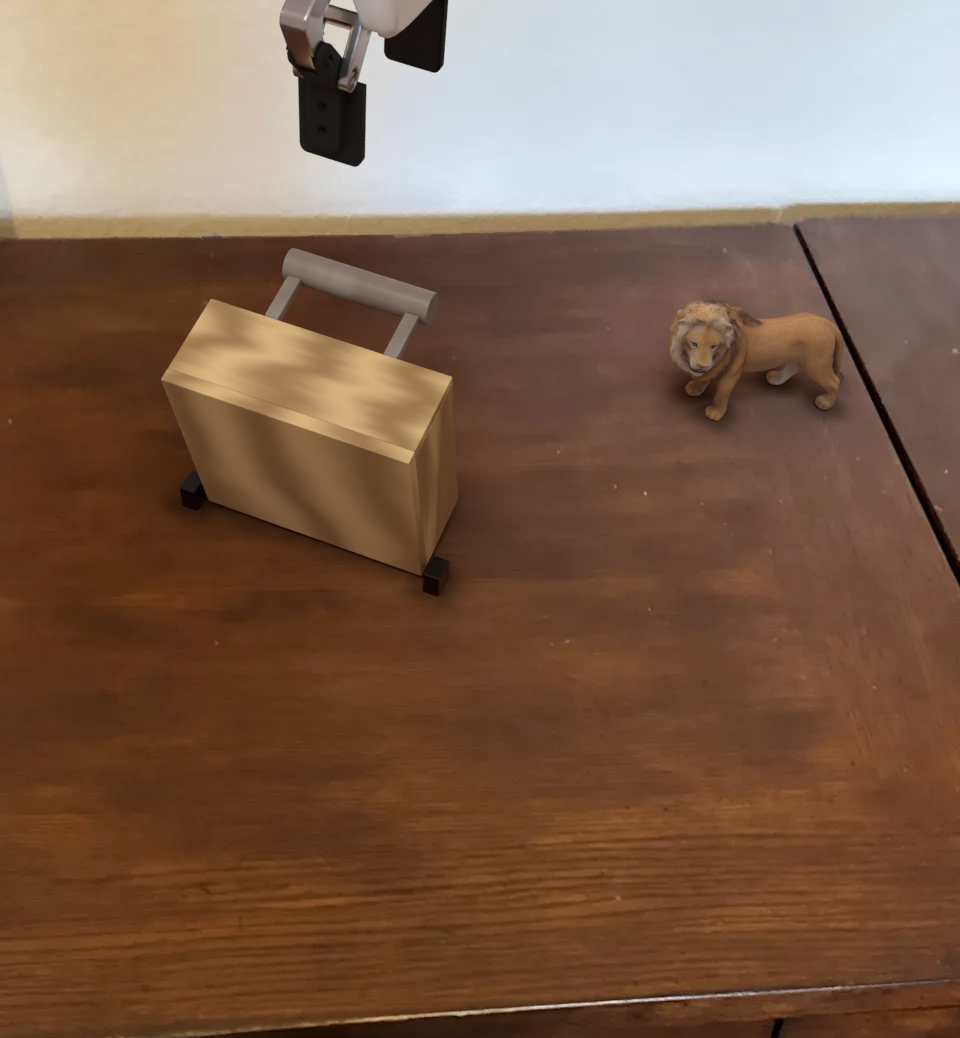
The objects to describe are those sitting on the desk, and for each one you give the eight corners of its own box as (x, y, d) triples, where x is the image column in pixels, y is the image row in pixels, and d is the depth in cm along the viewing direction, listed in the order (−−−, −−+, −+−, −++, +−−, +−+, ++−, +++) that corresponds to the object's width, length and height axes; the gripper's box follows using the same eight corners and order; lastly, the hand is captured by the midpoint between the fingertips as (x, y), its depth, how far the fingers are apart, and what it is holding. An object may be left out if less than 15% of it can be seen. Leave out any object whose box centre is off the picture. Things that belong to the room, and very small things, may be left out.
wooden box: (157, 372, 65) (248, 226, 69) (208, 500, 77) (283, 369, 81) (408, 457, 63) (486, 301, 67) (421, 576, 74) (487, 437, 79)
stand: (182, 505, 77) (179, 487, 76) (195, 488, 78) (192, 470, 76) (437, 596, 74) (439, 579, 73) (448, 578, 75) (449, 560, 74)
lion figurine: (669, 446, 83) (697, 338, 76) (636, 393, 86) (660, 285, 79) (858, 405, 87) (903, 299, 80) (821, 356, 90) (860, 250, 83)
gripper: (382, -203, 44) (371, 221, 57) (548, -336, 54) (505, 51, 68) (190, -254, 45) (224, 173, 59) (388, -375, 55) (377, 14, 69)
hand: (374, 108), depth 63 cm, fingers open, 9 cm apart
